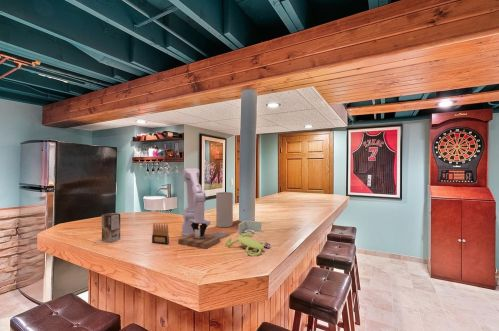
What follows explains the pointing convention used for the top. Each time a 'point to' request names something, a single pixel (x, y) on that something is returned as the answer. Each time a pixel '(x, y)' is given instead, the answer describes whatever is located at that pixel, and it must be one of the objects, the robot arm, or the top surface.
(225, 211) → the cylinder vase
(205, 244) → the walnut board
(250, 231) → the l-shaped corner panel
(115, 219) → the coffee box
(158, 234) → the ammunition clip
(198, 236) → the steel peg
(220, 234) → the rubber mat
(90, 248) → the top surface
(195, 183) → the robot arm
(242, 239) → the figurine
